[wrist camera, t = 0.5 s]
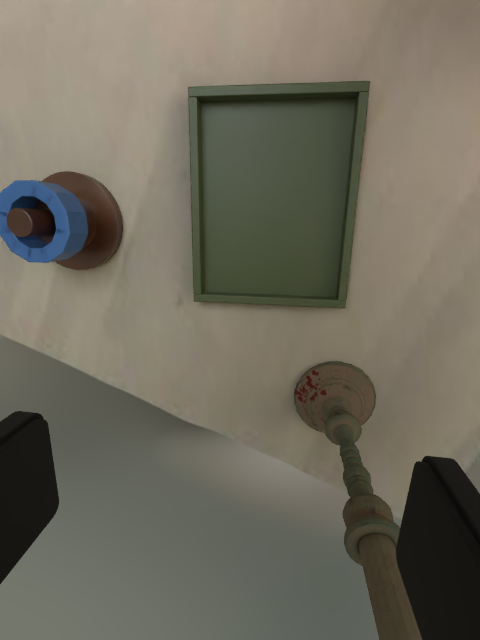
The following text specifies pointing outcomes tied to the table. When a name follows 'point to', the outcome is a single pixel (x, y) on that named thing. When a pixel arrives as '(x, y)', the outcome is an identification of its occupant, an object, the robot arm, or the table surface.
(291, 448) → the table surface
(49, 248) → the ring
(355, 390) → the candlestick holder
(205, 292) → the tray
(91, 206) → the stand
